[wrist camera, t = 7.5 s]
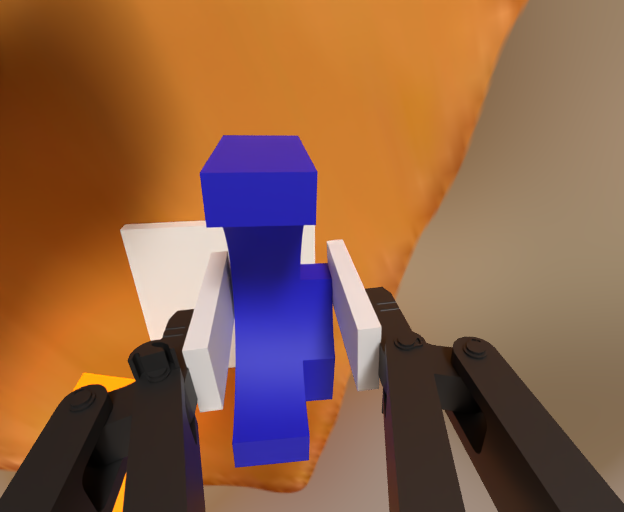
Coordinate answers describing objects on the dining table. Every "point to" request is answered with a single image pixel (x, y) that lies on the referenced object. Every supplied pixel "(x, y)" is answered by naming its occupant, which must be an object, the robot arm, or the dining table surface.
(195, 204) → the dining table surface
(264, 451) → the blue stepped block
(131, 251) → the white pad
